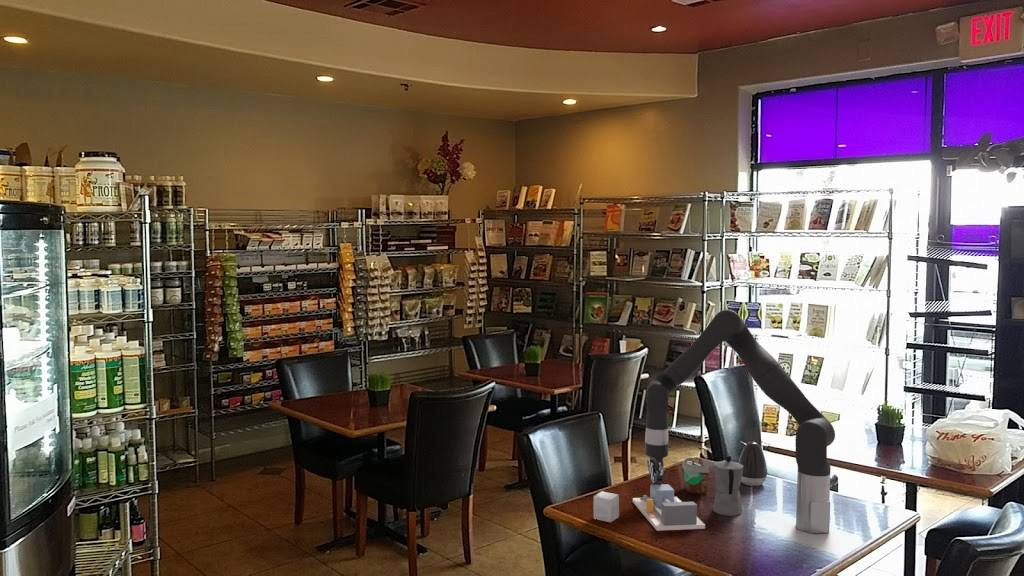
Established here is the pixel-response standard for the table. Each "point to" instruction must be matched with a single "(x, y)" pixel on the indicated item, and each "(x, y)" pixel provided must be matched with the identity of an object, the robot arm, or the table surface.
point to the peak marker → (649, 505)
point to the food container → (695, 476)
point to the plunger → (660, 494)
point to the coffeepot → (728, 487)
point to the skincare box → (606, 506)
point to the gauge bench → (658, 522)
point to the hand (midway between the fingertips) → (655, 492)
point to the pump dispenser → (753, 464)
